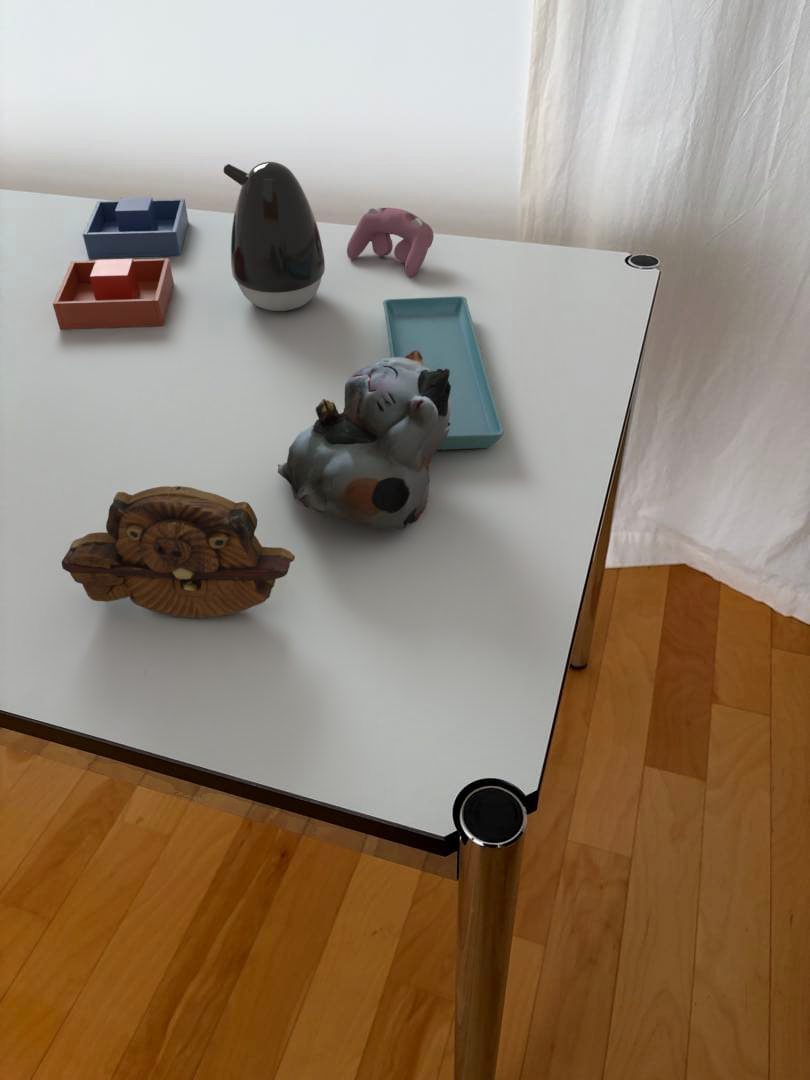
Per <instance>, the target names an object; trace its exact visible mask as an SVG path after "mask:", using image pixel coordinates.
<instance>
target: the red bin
mask: <svg viewBox="0 0 810 1080" xmlns="http://www.w3.org/2000/svg"><path fill="white" fill-rule="evenodd" d="M132 259H133V261H134V266H135V271H136V276H137V280H138V285H139V290H140V293H139V297H138V299H129V300H97V301H96V300H95V296H94V292H93V288H92V284H91V280H90V274H91V272H92V269H93V267H94V264H95V262H96V260H72V261H70V263H69V266H68V267H67V270H66V273H65V275H64V276H63V279H62V280H61V281H62V282H61V284H60V286H59V289H58V291H57V293H56V295H55V298H54V300H53V301H52V306H53V310H54V314H55V317H56V320H57V325H58V328H59V330H74V329H75V330H76V329H77V330H78V329H103V328H105V329H106V328H108V329H109V328H135V327H136V328H137V327H139V328H140V327H164V324H165V320H166V316H167V313H168V307H169V303H170V299H171V296H172V290H173V286H174V277H173V272H172V265H171V260H170V258H138V259H134V258H132Z"/></svg>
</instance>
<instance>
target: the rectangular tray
mask: <svg viewBox="0 0 810 1080" xmlns="http://www.w3.org/2000/svg"><path fill="white" fill-rule="evenodd" d="M382 305H383V311H384V317H385V325H386V330H387V339H388V345H389V346H388V347H389V352H390V358H393V357H403V358H404V357H406V356H407V355H409V354H410V353H411V352H413V351H415V350H417V351H419V352H420V354H421V356H422V359H423V365H424V366H425V367H427V368H428V369H430V370H432V371H436V370H437V369H449V370H450V375H449V379H448V381H449V384H450V385H451V390H450V395H449V403H450V405H451V413H450V417H449V423H450V425H451V427H450V430H449V433H448V435H447V437H446V439H445V440H444V441H443V442H442V444H441V445H440V446H439V448H438V449H437V450H436V451H441V450H443V451H444V450H464V449H465V450H466V449H488V448H490V447H493V445H495V443H497V442H498V441H499V440H500V439H501V438H502V436H503V435H504V434H505V430H504V426H503V424H502V420H501V417H500V414H499V410H498V407H497V403H496V400H495V396H494V393H493V389H492V387H491V382H490V379H489V376H488V372H487V369H486V365H485V361H484V358H483V353H482V351H481V350H482V349H481V347H480V344H479V339H478V336H477V332H476V330H475V325H474V321H473V318H472V314H471V311H470V308H469V304H468V300H467V298H466V297H465V296H462V295H459V296H458V295H457V296H432V297H411V298H410V297H409V298H389V299H387V298H386V299H385V300H383V301H382Z"/></svg>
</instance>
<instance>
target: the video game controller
mask: <svg viewBox="0 0 810 1080" xmlns="http://www.w3.org/2000/svg"><path fill="white" fill-rule="evenodd" d="M391 235H394V236H397V237H399V238H401V240H400V241H399V242H397V244H396V245H395V247H394V246H393V245H394V244H393V240H392V238H391ZM434 237H435V236H434V231H433V229H432V227H431V226H430V225H429V224H428V223H427V222H425V221H424V220H422V219H421V218H420V217H419V216H417V215H416V214H414V213H412V212H410V211H407V210H404V209H401V208H395V207H374V208H373V207H372V208H369V210H368V212H366V213H364V214H362V216H361V218H360V220H359V222H358V224H357V226H356V227H355V229H354V231H353V233H352V235H351V236H350V239H349V241H348V243H347V245H346V246H347V248H346V255H347V258H348V259H349V260H354V259H356V258H358V257H359V256H360V255H361V254H362V253H364V250H365V249H366V248H367V246H368V245H369V244H370V242H371V247H372V251H373V252H374V254H375V255H377V256H384V257H386V256H389V255H390V254H391V253H392V251H393V255H394V258H395V259H396V260H397V261H399V262H400V263H405V265H404V272H405V275H406V276H407V277H412V276H414V275H416V274H417V273H418V271H419V270H420V268H421V267H422V266H423V264H424V261H425V259H426V256H427V253H428V251H429V249H430V248H431V246H432V245H433V242H434ZM393 247H394V250H393Z"/></svg>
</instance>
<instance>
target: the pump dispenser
mask: <svg viewBox="0 0 810 1080" xmlns="http://www.w3.org/2000/svg"><path fill="white" fill-rule="evenodd" d="M223 173H224V174H225V175H226V176H227V177H229V178H230V179H231V180H233V181H234V182H235V183H237V184H238V185H240V186H241V187H240V190H239V193H238V197H237V200H236V203H235V207H234V213H233V219H232V226H231V234H230V265H231V266H230V268H231V274H232V277H233V279H234V281H235V282H237V286H238V287H239V289H240V291H241V293H242V294H243V295H244V297H245V298H246V300H247V301H249V302H250V303H251V304H253V305H254V306H256V307H259V308H261V309H264V310H267V311H272V312H286V311H291V310H295V309H298V308H301V307H302V306H304V305H305V304H307V303H308V302H310V301H311V300H312V299H313V298H314V296H315V295H316V293H317V292H318V290H319V288H320V285H321V282H322V278H323V276H324V274H325V271H326V261H325V254H324V248H323V244H322V243H323V242H322V239H321V234H320V230H319V226H318V224H317V221H316V218H315V214H314V212H313V208H312V206H311V204H310V202H309V199H308V197H307V194H306V192H305V191H304V189H303V186H302V185H301V184H300V181H299V179H298V178H297V177H296V175H295V174H294V173H293V172H292V171H291V169H290V168H288V167H287V166H286V165H284V164H282V163H279V162H276V161H263V162H260V163H258V164H257V165H254V166H253V167H252V168H251V169H250V170H249V172H246V171H245V170H242V169H240V168H238V167H236V166H234V165H232V164H230V163H226V164H224V167H223Z"/></svg>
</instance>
